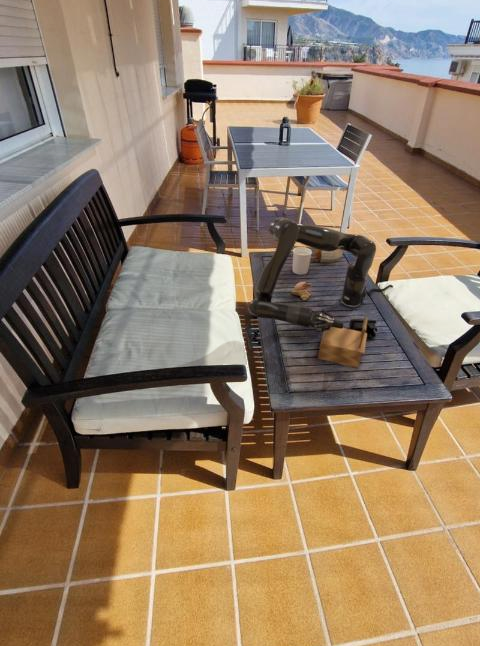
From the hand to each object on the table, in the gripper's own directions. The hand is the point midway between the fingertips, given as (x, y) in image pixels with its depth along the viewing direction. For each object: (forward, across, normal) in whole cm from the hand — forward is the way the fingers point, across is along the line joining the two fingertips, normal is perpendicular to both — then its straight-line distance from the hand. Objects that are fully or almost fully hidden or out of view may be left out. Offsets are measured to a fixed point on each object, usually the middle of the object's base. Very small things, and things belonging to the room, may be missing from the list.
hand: (343, 325), depth 148 cm
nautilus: (-19, +78, +14) cm, 81 cm away
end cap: (+8, +16, +14) cm, 23 cm away
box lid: (+1, 0, +6) cm, 6 cm away
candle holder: (-28, +60, +14) cm, 67 cm away
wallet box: (+1, 0, +14) cm, 14 cm away
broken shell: (-23, +35, +14) cm, 44 cm away
